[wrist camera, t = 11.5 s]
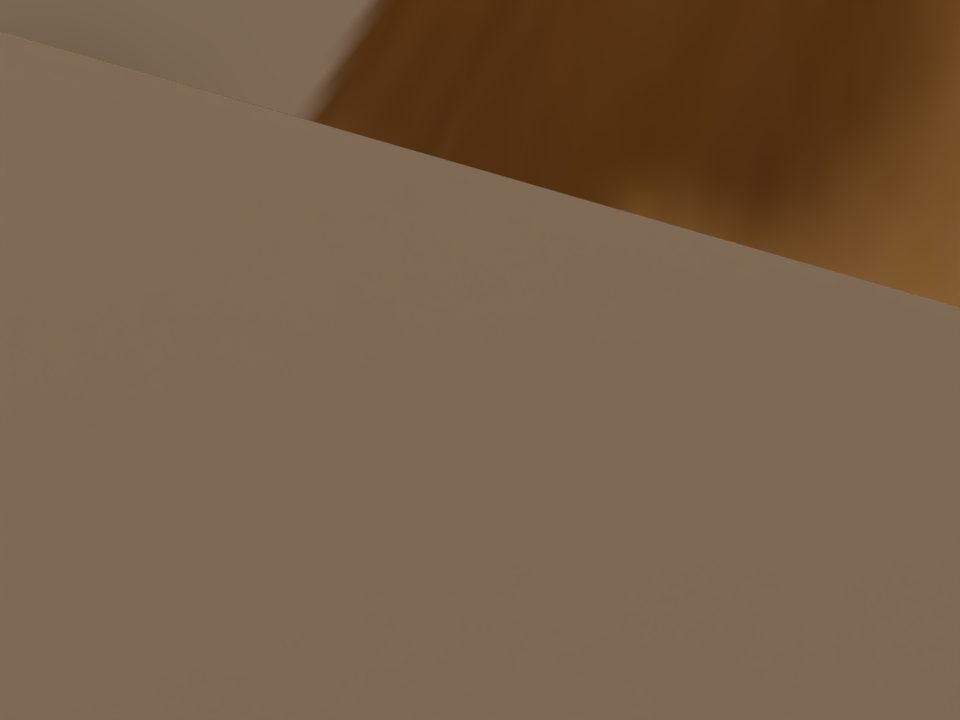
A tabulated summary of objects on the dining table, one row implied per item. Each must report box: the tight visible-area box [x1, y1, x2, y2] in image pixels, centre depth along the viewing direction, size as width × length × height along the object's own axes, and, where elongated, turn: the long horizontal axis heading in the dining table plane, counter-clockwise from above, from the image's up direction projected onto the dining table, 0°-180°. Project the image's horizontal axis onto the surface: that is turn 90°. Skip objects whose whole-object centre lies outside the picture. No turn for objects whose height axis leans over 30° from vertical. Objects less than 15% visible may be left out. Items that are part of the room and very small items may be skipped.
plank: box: [0, 32, 960, 720], centre depth 9 cm, size 5×2×16 cm, turn 72°
